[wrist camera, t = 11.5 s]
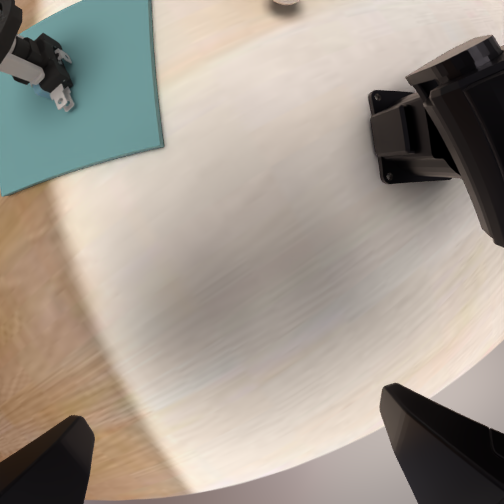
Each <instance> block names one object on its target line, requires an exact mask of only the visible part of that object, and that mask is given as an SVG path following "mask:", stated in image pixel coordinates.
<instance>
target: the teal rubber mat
mask: <svg viewBox="0 0 504 504" xmlns="http://www.w3.org/2000/svg"><path fill="white" fill-rule="evenodd" d="M42 33H45V34H46V35H48V36H49V37H51V38H52V39H54V40H56V41H57V42H58V43H59V44H60V45H61V47H62V51H64V52H65V53H67V54H68V55H69V57H70V59H71V61H72V63H71V64H70V63H69V62H67V61H65V60H64V59H62V61H63V63H64V66H65V68H66V70H67V72H68V73H69V75H70V79H71V81H72V83H73V86H72V87H71V88H70V91H71V93H70V96H71V98H72V100H73V103H74V106H73V107H72V108H71V109H70V110H69V111H68V112H65V110H64V108H62V109H60V110H58V108H57V106H56V103H55V101H53V100H50V99H47V98H44V97H39V96H37V95H36V94H35V92H34V90H33V87H31V85H30V83H29V84H28V85H25V84H22V83H19V82H17V81H15V80H14V79H13V77H12V75H10V74H7V73H4V72H1V71H0V189H1V196H2V197H3V196H9V195H11V194H14V193H16V192H19V191H21V190H24V189H26V188H29V187H31V186H34V185H36V184H39V183H42V182H44V181H47V180H50V179H53V178H56V177H59V176H61V175H64V174H67V173H70V172H73V171H76V170H80V169H83V168H86V167H89V166H92V165H96V164H99V163H103V162H106V161H110V160H113V159H117V158H121V157H124V156H128V155H132V154H136V153H140V152H144V151H148V150H152V149H157V148H161V147H164V143H163V135H162V127H161V119H160V111H159V102H158V92H157V82H156V71H155V59H154V46H153V29H152V7H151V0H82V1H80V2H78V3H76V4H73V5H71V6H69V7H67V8H65V9H63V10H61V11H59V12H57V13H55V14H53V15H51V16H49V17H48V18H46V19H44V20H42V21H40V22H39V23H37V24H35V25H33V26H32V27H30V28H28V29H27V30H25V31H24V32H22V33H20V34H19V35H20V36H22V37H24V38H25V37H28V38H30V39H32V40H35V39H37V38H38V37H39V36H40V35H41V34H42ZM66 58H67V57H66ZM67 59H68V58H67ZM59 104H61V102H60V103H59ZM69 104H70V101H67V104H66V106H69Z"/></svg>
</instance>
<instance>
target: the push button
mask: <svg viewBox="0 0 504 504" xmlns="http://www.w3.org/2000/svg"><path fill="white" fill-rule="evenodd" d="M21 23H22V9H20V8H19V7H17V6H15V0H0V71H1V72H4V73H7V74H10V75H12V77H13V79H14V80H15V81H17V82H19V83H22V84H25V85H28V84H29V83H30V85H31V87H33V90H34V92H35V94H36V95H37V96H39V97H44V98H47V99H50V100H53V101H55V103H56V106H57V108H58V110H60V109H62V108H64V110H65V112H68V111H69V110H70V109H71V108H72V107H73V106H74V103H73V100H72V98H71V96H70V93H71V91H70V88H71V87H72V86H73V83H72V81H71V79H70V75H69V73H68V72H67V70H66V68H65V66H64V63H63V61H62V59H64V60H65V61H67V62H69V63H70V64H71V63H72V61H71V59H70V57H69V55H68V54H67V53H65V52H64V51H62V47H61V45H60V44H59V43H58V42H57V41H56V40H54V39H52V38H51V37H49V36H48V35H46V34H45V33H42V34H41V35H40V36H39V37H38V38H37V39H35V40H32V39H30V38H28V37H25V38H24V37H22V36H20V35H18V34H17V32H18V30H19V28H20V25H21ZM66 57H67V58H68V59H67V58H66ZM67 101H70V104H69V106H66V104H67ZM60 102H61V104H59V103H60Z"/></svg>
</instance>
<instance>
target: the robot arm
mask: <svg viewBox="0 0 504 504" xmlns="http://www.w3.org/2000/svg"><path fill="white" fill-rule="evenodd" d="M405 78H406V79H407V81H408V82H409V84H410V85H411V86H412V85H413V87H414V88H415V90H416V91H417V92H416V93H412V92H400V91H384V90H375V91H372V92H371V93H370V94H369V101H370V106H371V111H372V117H371V125H372V131H373V137H374V144H375V152H376V154H377V155H378V158H379V166H380V175H381V180H382V181H383V182H384V183H386V184H396V183H408V182H422V181H438V180H450V179H452V178H460V179H463V181H464V184H465V186H466V188H467V191H468V193H469V195H470V198H471V200H472V203H473V205H474V208H475V211H476V213H477V216H478V219H479V222H480V224H481V227H482V229H483V230H484V231H485V232H486V233H487V234H488V235H489V236H490V237H492V238H493V241H494V243H495V244H496V245H499V246H502V247H504V45H503V46H501V47H500V46H499V44H498V43H497V41H496V39H495V38H494V36H493V35H487V36H482V37H477V38H474V39H471V40H469V41H467V42H465V43H463V44H461V45H459V46H457V47H455V48H453V49H451V50H449V51H447V52H446V53H444V54H442V55H441V56H439V57H437V58H436V59H434V60H432V61H431V62H429V63H427V64H426V65H424V66H422V67H421V68H419V69H417V70H416V71H414V72H413V73H411V74H409V75H408V76H406V77H405ZM375 95H377V96H378V98H379V100H376V99H375V97H374V96H375ZM388 173H389V174H390V179H389V180H388V179H387V177H386V176H387V174H388ZM380 413H381V416H382V419H383V422H384V425H385V427H386V430H387V433H388V436H389V439H390V442H391V445H392V448H393V451H394V453H395V455H396V458H397V460H398V462H399V464H400V466H401V468H402V470H403V472H404V474H405V477H406V479H407V481H408V483H409V485H410V487H411V489H412V491H413V493H414V495H415V498H416V500H417V502H418V504H504V434H503V433H501V432H499V431H496V430H494V429H492V428H490V429H489V427H487V426H485V425H483V424H481V423H478V422H476V421H474V420H472V419H470V418H467V417H465V416H463V415H461V414H459V413H457V412H455V411H453V410H451V409H449V408H447V407H444V406H442V405H440V404H438V403H436V402H434V401H432V400H430V399H428V398H426V397H424V396H422V395H420V394H418V393H416V392H414V391H412V390H410V389H408V388H406V387H404V386H402V385H400V384H398V383H393V384H389V385H386V386H384V387H383V389H382V394H381V400H380ZM94 442H95V437H94V433H93V431H92V430H91V428H90V427H89V425H88V424H87V422H86V420H85V419H84V418H83V417H82V416H76V415H71V416H69V417H68V418H66V419H65V420H63V421H62V422H60V423H59V424H57V425H56V426H54V427H53V428H51V429H50V430H49V431H47V432H46V433H44V434H43V435H41V436H40V437H38V438H37V439H35V440H34V441H32V442H31V443H29V444H28V445H26V446H25V447H23V448H22V449H20V450H19V451H17V452H16V453H14V454H12V455H11V456H9V457H8V458H6V459H5V460H3V461H2V462H0V504H84V499H85V495H86V490H87V486H88V481H89V476H90V470H91V462H92V455H93V448H94Z"/></svg>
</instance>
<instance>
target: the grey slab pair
mask: <svg viewBox="0 0 504 504" xmlns="http://www.w3.org/2000/svg"><path fill="white" fill-rule="evenodd" d="M273 1H274V2H276V3H278V4H281V5H292V4H295V3H297V2H298V1H300V0H273Z"/></svg>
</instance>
